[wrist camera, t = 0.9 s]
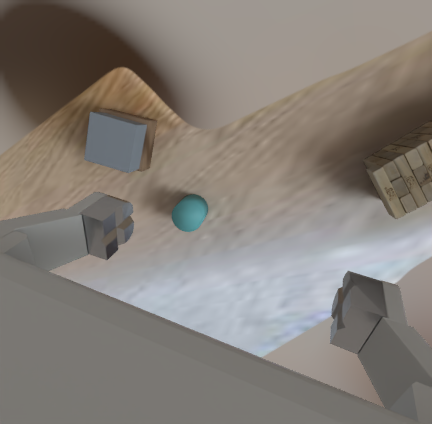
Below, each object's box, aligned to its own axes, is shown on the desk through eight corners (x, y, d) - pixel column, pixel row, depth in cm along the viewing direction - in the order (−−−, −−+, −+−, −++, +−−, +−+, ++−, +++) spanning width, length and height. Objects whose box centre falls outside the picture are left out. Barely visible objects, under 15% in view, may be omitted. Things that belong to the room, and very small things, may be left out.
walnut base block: (150, 167, 52) (141, 171, 48) (106, 156, 52) (94, 159, 49) (157, 120, 49) (149, 120, 46) (112, 109, 50) (99, 108, 46)
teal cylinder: (204, 225, 53) (198, 235, 48) (177, 217, 53) (169, 227, 49) (210, 198, 51) (205, 206, 47) (182, 191, 52) (174, 198, 47)
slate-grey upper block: (138, 168, 48) (128, 172, 44) (98, 156, 48) (84, 159, 45) (147, 124, 46) (136, 125, 42) (104, 112, 46) (90, 111, 42)
